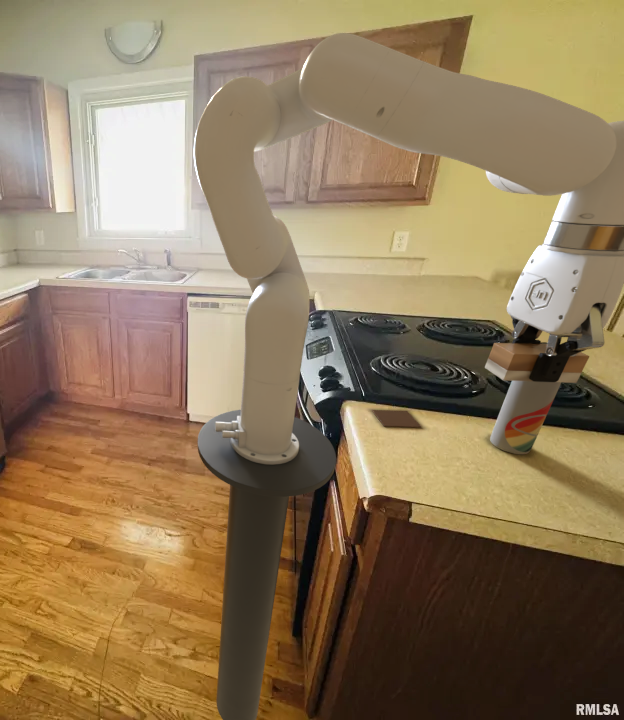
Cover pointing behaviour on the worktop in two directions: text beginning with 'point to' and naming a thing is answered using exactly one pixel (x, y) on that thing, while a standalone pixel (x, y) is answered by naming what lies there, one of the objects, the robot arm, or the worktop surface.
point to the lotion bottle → (523, 415)
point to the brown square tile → (396, 418)
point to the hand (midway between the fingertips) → (529, 371)
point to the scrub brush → (528, 362)
